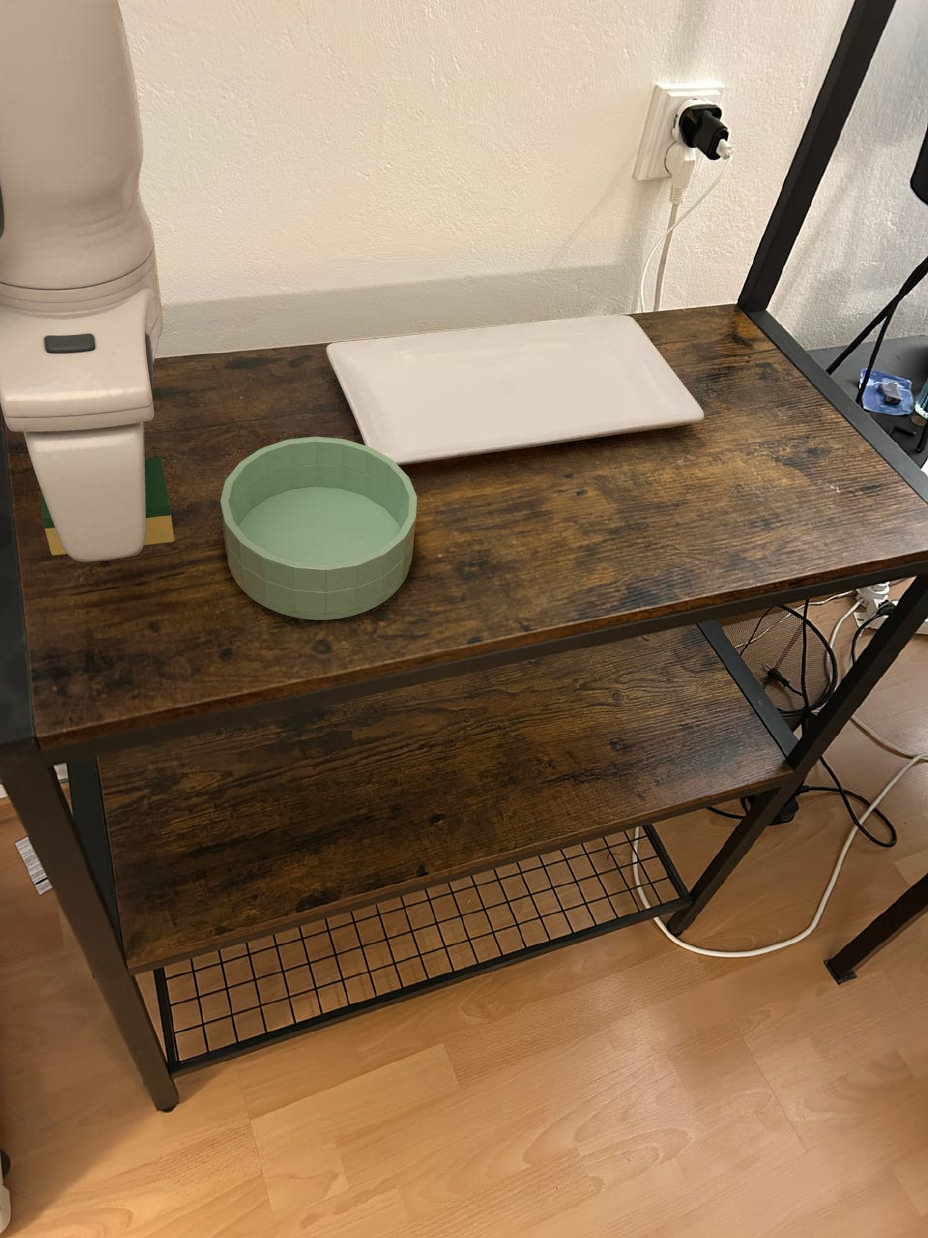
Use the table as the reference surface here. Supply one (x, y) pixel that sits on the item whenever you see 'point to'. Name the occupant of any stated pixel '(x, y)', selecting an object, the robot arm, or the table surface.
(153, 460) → the sponge
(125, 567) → the table surface
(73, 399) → the robot arm
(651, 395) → the tray
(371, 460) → the bowl
